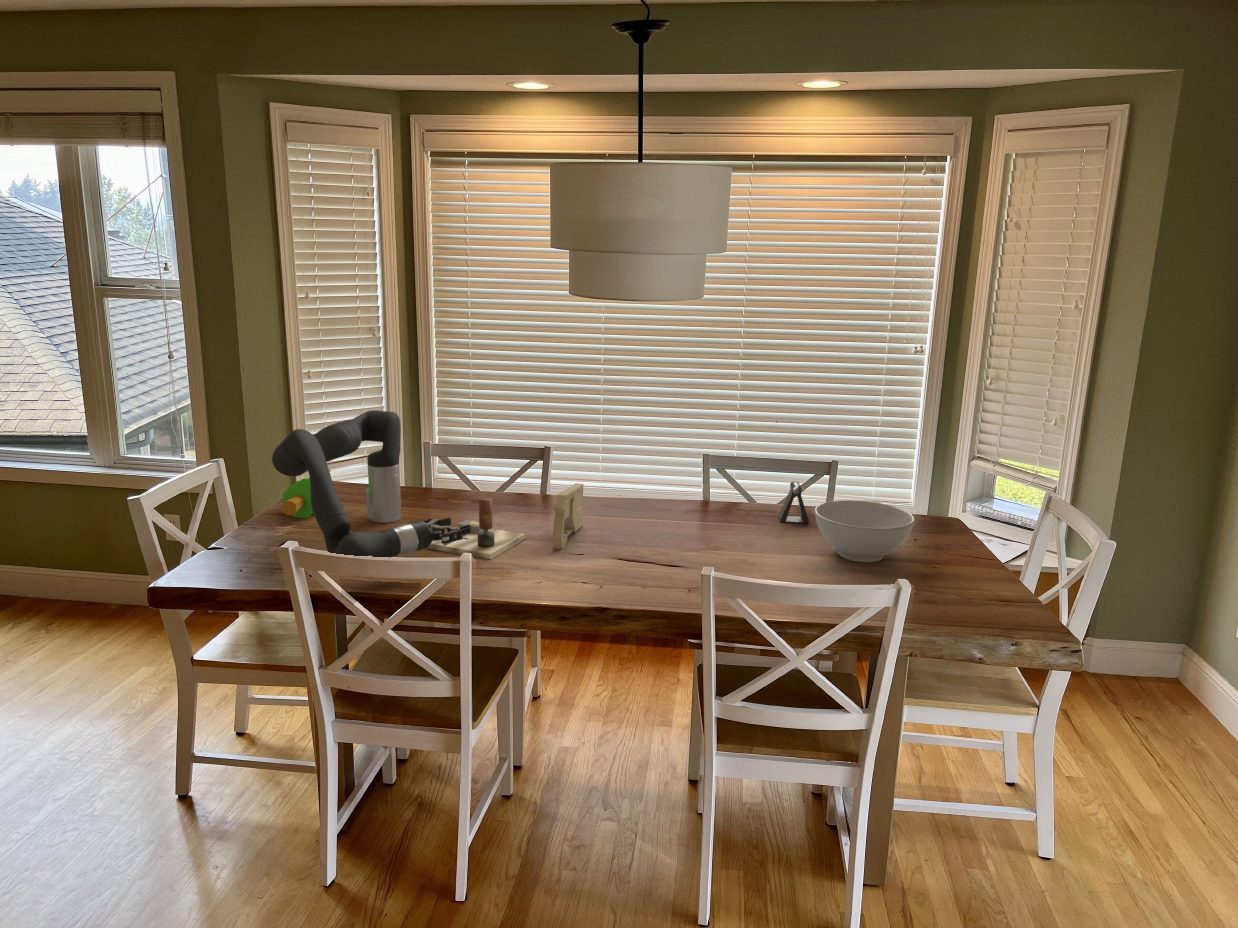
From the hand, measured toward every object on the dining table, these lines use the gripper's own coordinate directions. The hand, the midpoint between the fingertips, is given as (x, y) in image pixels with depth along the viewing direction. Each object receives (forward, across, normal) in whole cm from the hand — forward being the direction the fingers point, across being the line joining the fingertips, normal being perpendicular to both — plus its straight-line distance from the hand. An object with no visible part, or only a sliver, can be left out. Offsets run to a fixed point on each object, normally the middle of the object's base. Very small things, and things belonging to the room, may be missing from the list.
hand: (460, 524), depth 239 cm
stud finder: (+14, -13, -8) cm, 21 cm away
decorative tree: (-6, -66, -10) cm, 67 cm away
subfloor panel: (+10, -6, -9) cm, 15 cm away
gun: (+34, +7, -10) cm, 36 cm away
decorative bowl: (+82, +74, -10) cm, 111 cm away
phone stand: (+96, +43, -10) cm, 106 cm away
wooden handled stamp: (+9, 0, -8) cm, 12 cm away
